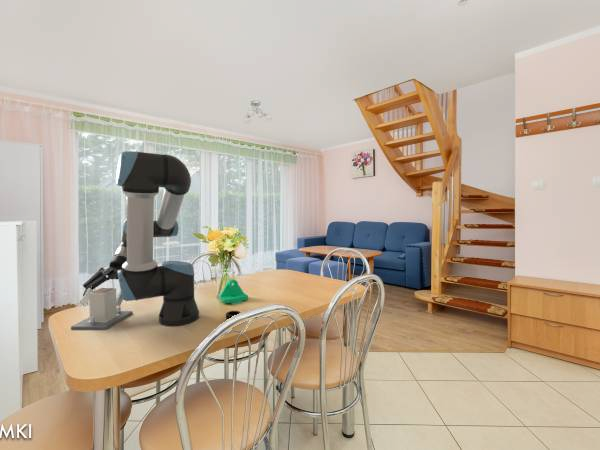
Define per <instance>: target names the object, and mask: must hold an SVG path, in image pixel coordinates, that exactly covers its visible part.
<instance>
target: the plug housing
mask: <svg viewBox="0 0 600 450" xmlns="http://www.w3.org/2000/svg"><path fill="white" fill-rule="evenodd" d="M116 299H117V288H116V287H115V288H114V287H101V288H98V289H96V290H95V289H94V290H93V292H91V293H89V301H88V303H89V317H90V321H91V317H95V321H107V320H109V319H111V318H112V317H114V316H116V315H117V307H118V306H117V305H116V304H115V302H116Z"/></svg>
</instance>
